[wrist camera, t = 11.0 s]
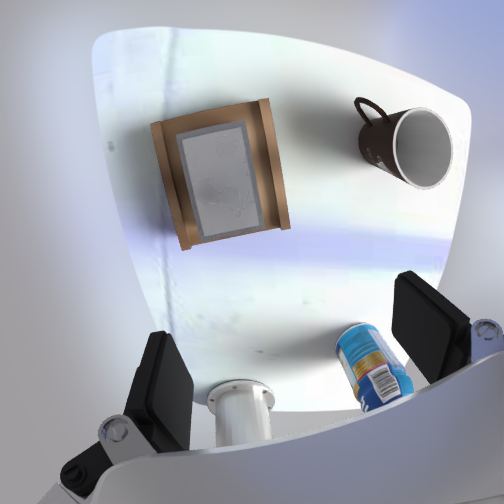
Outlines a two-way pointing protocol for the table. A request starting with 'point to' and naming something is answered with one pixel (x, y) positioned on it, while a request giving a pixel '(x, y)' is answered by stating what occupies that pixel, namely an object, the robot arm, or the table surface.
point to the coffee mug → (407, 144)
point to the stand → (262, 155)
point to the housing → (221, 180)
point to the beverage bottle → (372, 367)
